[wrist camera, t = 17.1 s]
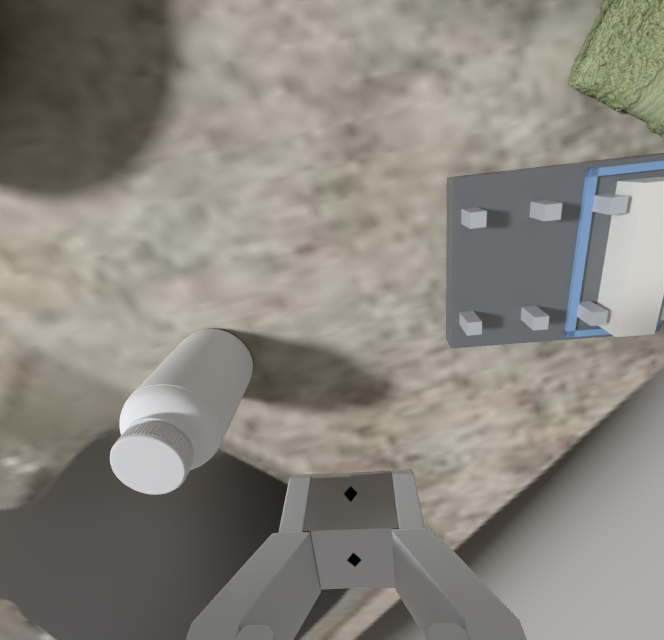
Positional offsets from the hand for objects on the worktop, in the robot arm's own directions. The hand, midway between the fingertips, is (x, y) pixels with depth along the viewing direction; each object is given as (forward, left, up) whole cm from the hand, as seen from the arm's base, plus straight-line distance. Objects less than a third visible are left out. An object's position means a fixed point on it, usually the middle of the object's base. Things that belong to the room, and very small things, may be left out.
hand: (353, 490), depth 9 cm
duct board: (+2, +17, -27) cm, 32 cm away
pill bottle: (+10, -15, -27) cm, 33 cm away
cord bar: (+2, +22, -25) cm, 34 cm away
